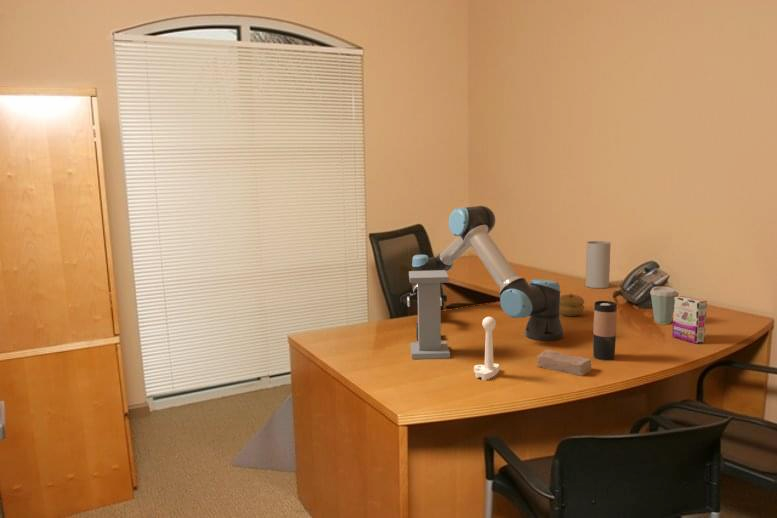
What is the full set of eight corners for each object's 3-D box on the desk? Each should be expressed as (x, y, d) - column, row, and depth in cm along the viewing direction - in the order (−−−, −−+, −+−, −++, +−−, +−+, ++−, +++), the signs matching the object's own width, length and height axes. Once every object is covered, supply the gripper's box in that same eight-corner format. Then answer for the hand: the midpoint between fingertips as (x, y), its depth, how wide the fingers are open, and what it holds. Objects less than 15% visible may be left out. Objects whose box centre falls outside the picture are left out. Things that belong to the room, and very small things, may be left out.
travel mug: (614, 354, 215) (616, 301, 212) (615, 361, 208) (617, 306, 204) (592, 353, 217) (594, 300, 214) (592, 359, 210) (594, 305, 207)
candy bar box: (705, 342, 226) (707, 300, 224) (695, 344, 224) (698, 302, 222) (680, 335, 236) (682, 295, 234) (671, 336, 234) (673, 296, 232)
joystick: (488, 381, 192) (488, 321, 189) (467, 376, 196) (466, 318, 193) (501, 370, 201) (502, 314, 198) (481, 367, 205) (481, 311, 202)
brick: (592, 370, 200) (592, 357, 199) (582, 377, 194) (582, 363, 193) (546, 361, 211) (546, 348, 210) (535, 367, 204) (536, 354, 204)
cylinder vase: (589, 283, 340) (590, 240, 336) (611, 285, 332) (613, 241, 328) (582, 287, 330) (583, 243, 326) (605, 289, 322) (606, 244, 318)
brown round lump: (580, 311, 277) (581, 291, 275) (586, 318, 265) (587, 296, 264) (555, 311, 278) (555, 291, 276) (560, 318, 267) (560, 296, 265)
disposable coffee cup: (678, 326, 249) (680, 291, 247) (651, 325, 251) (653, 290, 249) (672, 319, 260) (673, 286, 257) (645, 318, 262) (647, 285, 259)
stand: (410, 346, 231) (408, 271, 226) (446, 345, 231) (445, 270, 226) (411, 359, 215) (410, 278, 211) (450, 358, 215) (449, 277, 211)
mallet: (414, 325, 260) (414, 312, 259) (432, 325, 260) (432, 312, 259) (417, 341, 238) (416, 326, 237) (436, 340, 238) (436, 326, 237)
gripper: (449, 299, 270) (454, 311, 249) (394, 301, 270) (395, 312, 249) (449, 283, 268) (454, 293, 247) (394, 285, 268) (394, 295, 247)
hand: (424, 303), depth 248 cm, fingers open, 13 cm apart
